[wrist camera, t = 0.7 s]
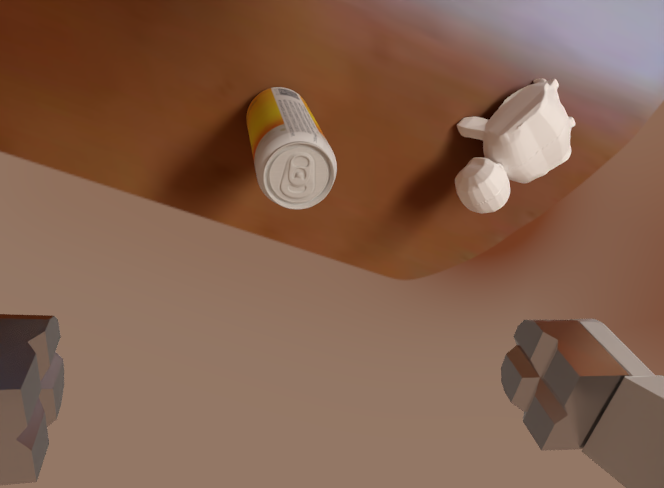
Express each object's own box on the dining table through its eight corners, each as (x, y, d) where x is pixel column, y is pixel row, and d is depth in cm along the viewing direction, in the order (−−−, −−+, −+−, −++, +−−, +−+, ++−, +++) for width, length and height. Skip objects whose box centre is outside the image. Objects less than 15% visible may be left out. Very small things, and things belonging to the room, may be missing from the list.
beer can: (243, 143, 52) (253, 211, 39) (248, 81, 49) (261, 133, 36) (303, 149, 53) (332, 216, 41) (312, 88, 50) (346, 140, 38)
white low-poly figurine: (506, 69, 57) (415, 166, 54) (574, 66, 49) (473, 178, 47) (535, 129, 61) (453, 221, 58) (602, 135, 54) (511, 240, 51)
